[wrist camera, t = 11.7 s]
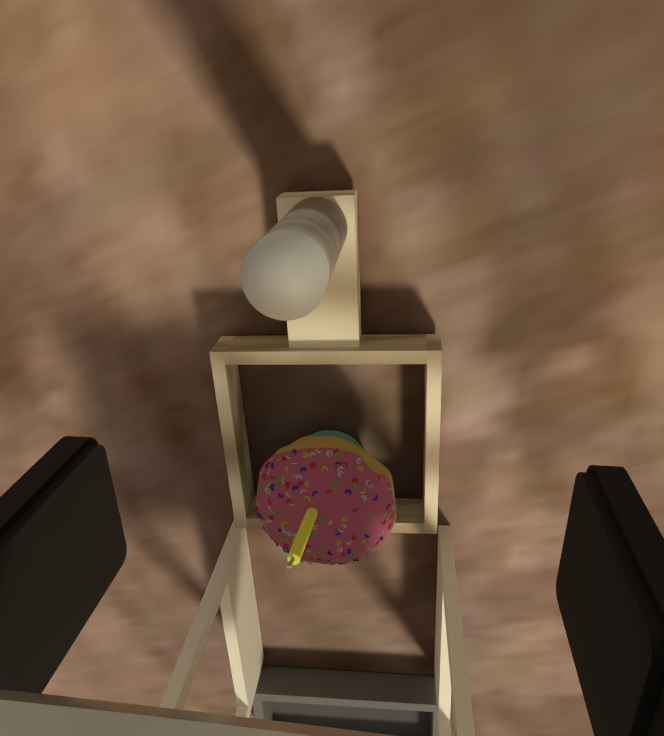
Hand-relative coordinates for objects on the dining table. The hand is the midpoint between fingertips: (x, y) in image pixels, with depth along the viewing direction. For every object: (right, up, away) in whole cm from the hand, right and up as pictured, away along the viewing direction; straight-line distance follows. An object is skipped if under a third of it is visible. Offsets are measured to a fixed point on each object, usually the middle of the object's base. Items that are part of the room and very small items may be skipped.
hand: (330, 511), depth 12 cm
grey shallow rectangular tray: (+2, -25, +37) cm, 45 cm away
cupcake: (0, -3, +28) cm, 28 cm away
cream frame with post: (0, +3, +24) cm, 24 cm away
